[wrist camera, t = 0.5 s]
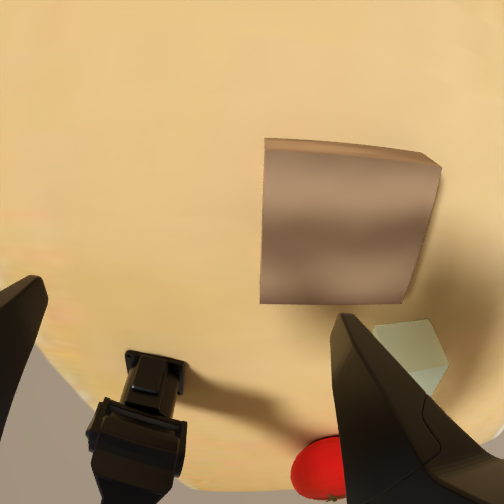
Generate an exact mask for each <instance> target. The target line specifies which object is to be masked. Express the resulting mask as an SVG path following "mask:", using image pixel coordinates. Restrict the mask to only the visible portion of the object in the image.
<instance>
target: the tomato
mask: <svg viewBox="0 0 504 504" xmlns="http://www.w3.org/2000/svg"><path fill="white" fill-rule="evenodd" d="M291 481H292V484H293V486H294V488H295V490H296V491H297V492H298V493H299V494H300V495H302V496H304V497H306V498H309V499H314V500H328V501H331V500H333V501H337V500H338V499H343V498H346V488H345V479H344V470H343V462H342V454H341V446H340V438H339V437H331V438H325V439H322V440H319V441H316V442H314V443H313V444H311V445H309V446H307V447H306V448H305V449H303V450H302V451H301V452H300V453H299V454H298V455H297V457H296V459H295V461H294V462H293V465H292V469H291ZM328 501H327V502H328Z"/></svg>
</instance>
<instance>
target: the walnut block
mask: <svg viewBox="0 0 504 504" xmlns="http://www.w3.org/2000/svg"><path fill="white" fill-rule="evenodd" d="M441 170H442V167H441V166H440V165H438V164H437V163H435V162H434V161H433V160H431V159H430V158H428V157H427V156H426V155H424V154H423V153H420V152H414V151H407V150H400V149H393V148H385V147H377V146H369V145H360V144H350V143H339V142H328V141H314V140H298V139H278V138H265V147H264V179H263V209H262V237H261V264H260V304H301V305H356V304H402V301H403V299H404V296H405V293H406V291H407V288H408V285H409V282H410V279H411V277H412V274H413V271H414V268H415V265H416V262H417V259H418V256H419V253H420V249H421V246H422V243H423V240H424V236H425V233H426V230H427V226H428V223H429V219H430V215H431V212H432V208H433V204H434V200H435V196H436V192H437V188H438V184H439V179H440V175H441Z"/></svg>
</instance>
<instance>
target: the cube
mask: <svg viewBox="0 0 504 504" xmlns="http://www.w3.org/2000/svg"><path fill="white" fill-rule="evenodd" d="M372 334H373V335H374V336H375V337H376V339H377V340H378V341H379V342H380V343H381V344H382V345H383V346H384V347H385V348H386V349H387V350H388V351H389V352H390V354H391V355H392V356H393V357H394V358H395V359H396V360H397V361H398V362H399V363H400V364H401V365H402V367H403V368H404V369H405V370H406V371H407V372H408V373H409V374H410V375H411V376H412V377H413V379H414V380H415V381H416V382H417V383H418V384H419V385H420V386H421V387H422V388H423V390H424V391H425V392H426V394H428V395H429V396H430V397H431V395H432V393H433V392H434V390H435V389H436V387H437V385H438V384H439V382H440V380H441V379H442V377H443V375H444V374H445V372H446V370H447V368H448V367H449V365H450V364H449V362H448V360H447V357H446V355H445V353H444V351H443V348H442V346H441V344H440V342H439V339H438V337H437V335H436V333H435V331H434V329H433V327H432V324H431V322H430V320H429V319H425V320H417V321H409V322H400V323H392V324H382V325H374V329H373V333H372Z"/></svg>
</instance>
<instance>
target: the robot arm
mask: <svg viewBox="0 0 504 504" xmlns="http://www.w3.org/2000/svg"><path fill="white" fill-rule="evenodd" d="M47 304H48V295H47V292H46V289H45V286H44V282H43V280H42V278H41V277H40V276H35V275H29V276H27V277H25V278H23V279H21V280H19V281H18V282H16V283H14V284H12V285H11V286H9V287H7V288H5V289H3V290H2V291H0V440H1V437H2V433H3V430H4V426H5V423H6V420H7V416H8V413H9V410H10V407H11V403H12V401H13V398H14V395H15V392H16V389H17V387H18V384H19V381H20V378H21V376H22V373H23V370H24V368H25V365H26V363H27V360H28V358H29V355H30V353H31V351H32V348H33V346H34V343H35V340H36V337H37V334H38V331H39V328H40V325H41V322H42V319H43V316H44V313H45V310H46V307H47ZM330 347H331V371H332V388H333V396H334V403H335V409H336V416H337V423H338V431H339V438H340V446H341V454H342V462H343V470H344V479H345V488H346V498H347V504H504V459H500V458H497V457H494V456H493V455H491V454H489V453H488V452H486V451H485V450H484V449H483V448H481V446H480V445H478V444H477V443H476V442H475V441H474V440H473V439H472V438H471V437H470V436H469V435H468V434H467V433H466V432H464V431H463V430H462V429H461V428H460V427H459V426H458V425H457V424H456V423H455V422H454V421H453V420H452V419H451V418H450V417H449V416H448V415H447V414H446V413H445V412H444V411H443V410H442V409H441V408H440V407H439V406H438V405H437V404H436V403H435V402H434V400H433V399H432V398H431V397H430V396H429V395H428V394H426V392H425V391H424V390H423V388H422V387H421V386H420V385H419V384H418V383H417V382H416V381H415V380H414V379H413V377H412V376H411V375H410V374H409V373H408V372H407V371H406V370H405V369H404V368H403V367H402V365H401V364H400V363H399V362H398V361H397V360H396V359H395V358H394V357H393V356H392V355H391V354H390V352H389V351H388V350H387V349H386V348H385V347H384V346H383V345H382V344H381V343H380V342H379V341H378V340H377V339H376V337H375V336H374V335H373V334H372V333H371V332H370V331H369V330H368V329H367V328H366V327H365V326H364V325H363V324H362V323H361V322H360V320H359V319H358V318H357V317H356V316H355V315H353V314H347V313H341V314H339V315H338V317H337V319H336V322H335V325H334V327H333V330H332V332H331V336H330ZM125 360H126V366H127V372H128V377H127V380H126V383H125V386H124V389H123V393H122V396H121V399H120V402H116V401H113V400H110V398H107V397H105V399H104V401H103V402H99V404H98V407H97V410H96V413H95V415H94V418H93V419H92V421H91V423H90V424H89V427H88V428H87V431H86V436H87V438H88V440H89V441H88V444H89V452H92V453H93V456H92V460H91V467H92V470H93V473H94V476H95V479H96V482H97V485H98V488H99V491H100V494H101V496H102V500H101V504H157V503H158V502H159V501H160V500H161V498H163V497H164V495H165V494H167V493H168V491H170V489H171V488H172V485H173V480H174V477H177V478H178V477H179V476H180V474H181V471H182V467H183V463H184V457H185V448H186V434H187V422H186V421H179V420H175V419H172V418H173V412H174V407H175V402H176V397H177V395H182V394H183V384H184V368H185V364H184V363H183V362H181V361H176V360H171V359H166V358H161V357H156V356H152V355H147V354H142V353H138V352H134V351H129V350H128V351H126V352H125Z"/></svg>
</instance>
